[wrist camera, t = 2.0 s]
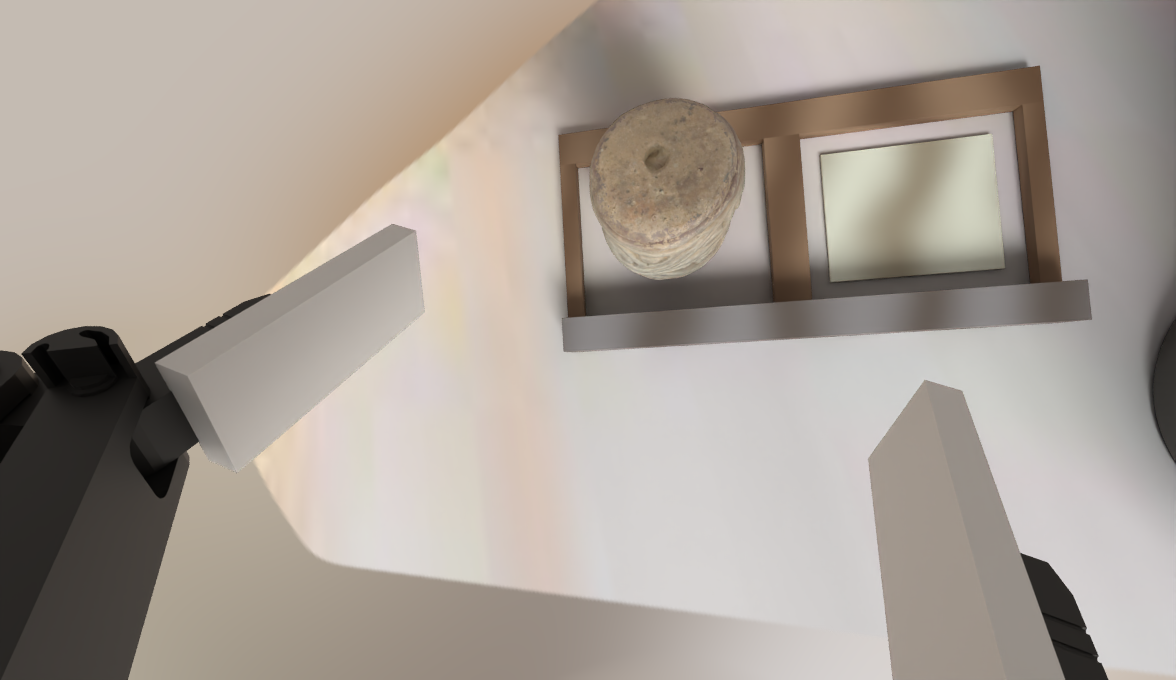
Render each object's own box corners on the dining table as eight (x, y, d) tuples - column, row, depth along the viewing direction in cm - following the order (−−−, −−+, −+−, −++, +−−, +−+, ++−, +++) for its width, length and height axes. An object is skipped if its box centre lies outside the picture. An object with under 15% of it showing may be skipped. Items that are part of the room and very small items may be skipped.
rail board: (1029, 73, 28) (1062, 46, 26) (1055, 323, 27) (1091, 319, 25) (561, 140, 33) (551, 122, 31) (572, 352, 32) (563, 351, 30)
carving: (596, 255, 32) (546, 195, 21) (666, 157, 32) (655, 39, 20) (677, 312, 31) (672, 283, 20) (751, 212, 31) (792, 120, 19)
